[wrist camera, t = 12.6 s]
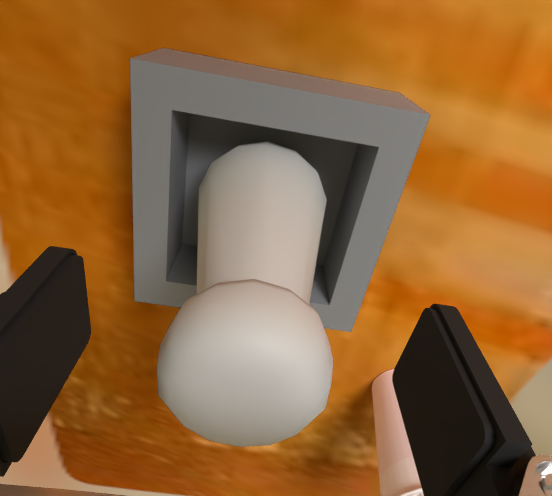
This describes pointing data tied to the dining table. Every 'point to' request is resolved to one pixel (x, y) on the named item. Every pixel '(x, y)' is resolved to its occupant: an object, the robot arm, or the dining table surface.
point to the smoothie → (392, 442)
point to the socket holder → (252, 129)
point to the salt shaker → (251, 304)
